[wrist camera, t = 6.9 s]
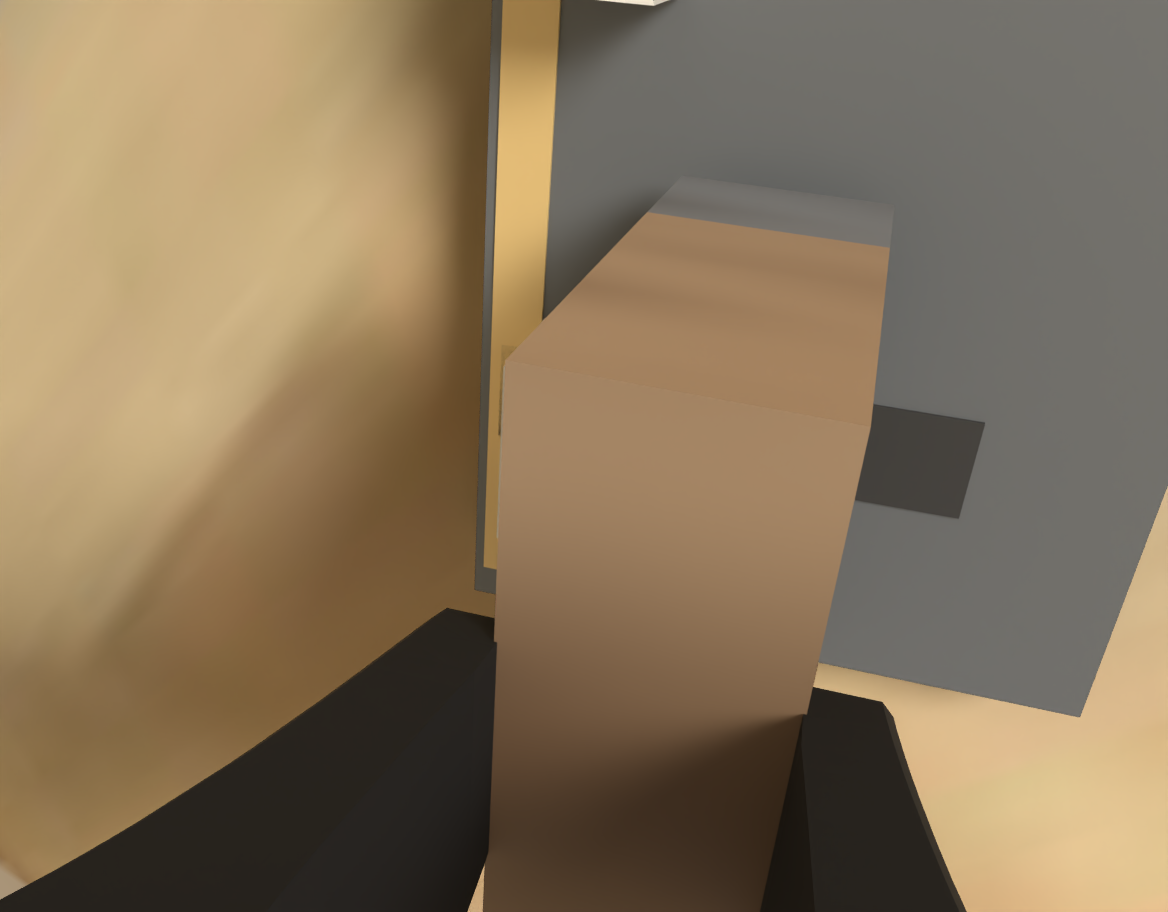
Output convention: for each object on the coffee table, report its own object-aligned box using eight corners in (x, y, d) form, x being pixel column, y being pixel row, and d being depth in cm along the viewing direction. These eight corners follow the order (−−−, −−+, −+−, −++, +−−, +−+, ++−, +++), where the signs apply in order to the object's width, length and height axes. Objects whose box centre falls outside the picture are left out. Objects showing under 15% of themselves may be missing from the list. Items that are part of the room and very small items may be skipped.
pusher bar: (791, 695, 15) (720, 1100, 10) (626, 656, 15) (478, 1022, 10) (895, 204, 12) (869, 426, 7) (681, 175, 12) (506, 358, 7)
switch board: (1064, 653, 16) (1080, 719, 15) (504, 541, 18) (473, 591, 17) (1403, -297, 11) (1478, -328, 9) (542, -332, 12) (500, -363, 11)
